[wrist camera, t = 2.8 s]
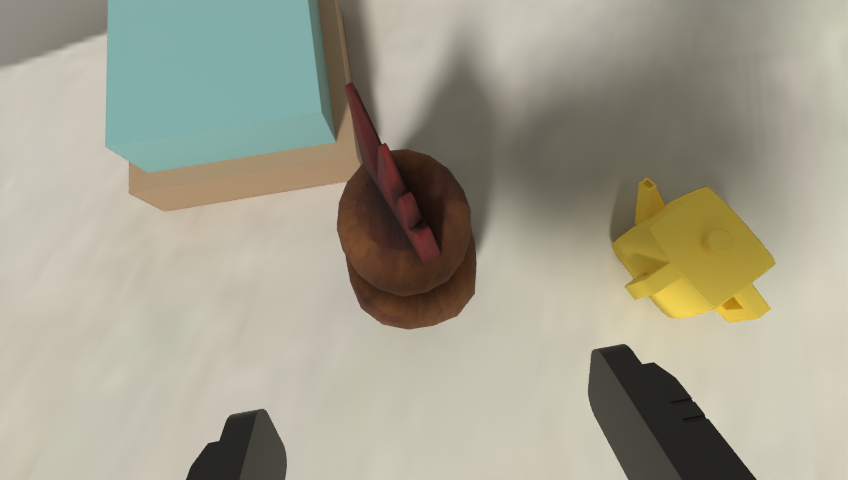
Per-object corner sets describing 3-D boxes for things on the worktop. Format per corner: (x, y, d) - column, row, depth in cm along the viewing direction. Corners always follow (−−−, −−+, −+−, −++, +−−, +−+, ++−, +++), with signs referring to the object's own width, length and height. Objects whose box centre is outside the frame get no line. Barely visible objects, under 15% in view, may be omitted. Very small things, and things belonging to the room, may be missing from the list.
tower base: (341, 12, 28) (317, -75, 22) (365, 178, 25) (345, 127, 19) (161, 40, 28) (89, -41, 22) (164, 211, 25) (82, 170, 19)
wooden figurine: (358, 220, 25) (251, 38, 10) (456, 206, 25) (490, 6, 10) (370, 339, 23) (264, 324, 8) (476, 324, 23) (550, 284, 9)
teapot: (564, 236, 24) (598, 208, 19) (642, 183, 25) (695, 142, 20) (658, 358, 23) (722, 361, 18) (739, 297, 23) (823, 284, 18)
